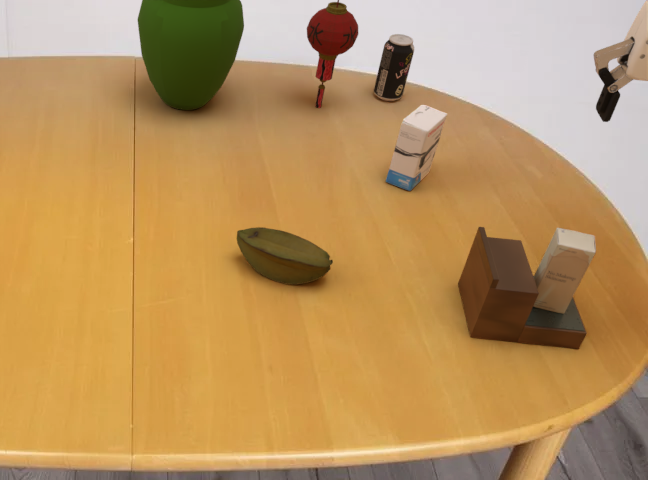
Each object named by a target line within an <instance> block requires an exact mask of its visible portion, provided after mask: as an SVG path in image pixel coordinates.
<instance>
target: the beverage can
mask: <svg viewBox="0 0 648 480" xmlns="http://www.w3.org/2000/svg"><path fill="white" fill-rule="evenodd" d="M414 52H415V46H414V39H413V38H412V37H411V36H409V35H407V34H401V33H395V34H392V35H390V36H389V37H388V40H386V42H385V43H384V45H383V50H382V54H381V58H380V62H379V66H378V71H377V75H376V78H375V84H374V87H373V93H374V95H375V96H376V97H377V98H378V99H380V100H382V101H386V102H394V101H398V100H400V99H401V98H402V97H403V95H404V91H405V88H406V84H407V81H408V76H409V72H410V69H411V64H412V60H413V57H414Z"/></svg>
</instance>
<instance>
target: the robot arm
mask: <svg viewBox="0 0 648 480" xmlns="http://www.w3.org/2000/svg"><path fill="white" fill-rule="evenodd" d="M615 59H616V62H617V63H618V65H617V66H615V68H613V69H611V70H610V69H609V68H610V67H609V63H610V62H611V61H612V60H615ZM593 61H594V66H595V72H596V74H597V75H598V77H599V78H600V80H601V82H602V83H603V87H602V89H601V91H600V94H599V97H598V98H597V99H598V100H597V101H596V104H595V110H596V112H597V114H598V116H599V118H600V119H601V121H602V122H603V123H608V122H610V121H611V120H612V117H613V114H614V112H615V110H616V107H617V105H618V102H619V100H620V97H621V92H619V90H621V89H622V88H623V87H625V86H626V85H628V84H629V83H631V82H632V81H640V82H641V81H642V82H643V81H644V82H648V0H645V1H644V3H643V5H642V6H641V7H640V9H639V11H638V12H637V14H636V16H635V18H634V20H633V22H632V23H631V26H630V28H629V29H628V32H627V33H626V36H625V38H624V40H623V41H620V42H617V43H614V44H612V45H610V46H605V47H604V48H603V47H602V48H601V49H597V50H596V51H595V52H593Z"/></svg>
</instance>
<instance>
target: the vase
mask: <svg viewBox="0 0 648 480" xmlns="http://www.w3.org/2000/svg"><path fill="white" fill-rule="evenodd" d="M244 19H245V18H244V8H243V4H242V1H241V0H141V4H140V7H139V12H138V16H137V27H138V35H139V43H140V45H139V46H140V52H141V57H142V60H143V63H144V66H145V69H146V73H147V76H148V80H149V81H150V83H151V85H152V86H153V88H154V90H155V92H156V93H157V95H158V97H159V98H160V99H161V100H162V101H163V102H164V104H165V105H167V106H169V107H171V108H174V109H176V110H181V111H193V110H197V109H200V108H202V107H204V106H205V105H207V104H208V103H209V102H210V101H211V100H213V98H214V97H215V95H216V94H217V93H218V91H219V90H220V89H221V88H222V86H224V83H225V82H226V79H227V77H228V75H229V73H230V71H231V69H232V67H233V65H234V63H235V61H236V58H237V55H238V52H239V47H240V44H241V40H242V37H243V33H244V30H245V20H244Z"/></svg>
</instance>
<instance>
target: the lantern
mask: <svg viewBox="0 0 648 480" xmlns="http://www.w3.org/2000/svg"><path fill="white" fill-rule="evenodd" d="M358 36H359V24H358V22H357V20H356V18H355V15H354V14H353V13H351V12H350V11H348V8H347V5H346V4H345V3H343V2H341V1H340V0H337V1H332V2H328V4H327V6H326V7H324V8H321V9H318V11H316V13H315V14H313V15H312V16H311V18H310V19H309V22H308V23H307V26H306V37H307V42H308V43H309V44H310V46H311V48H312V50H314V51H316V52H317V54H318V61H317V66H316V71H315V78H316V79H317V80H319V81H320V82H321V83H320V84H319V85H318V89H317V95H316V98H315V99H316V100H315V104H314V107H315V108H317V109H320V108H322V106H323V100H324V96H325V95H324V94H325V89H326V86H325V84H324V83H326V82H328V81H330V80H332V79H333V74H334V69H335V65H336V61H337V58H338V56H339V55H343V54H344V53H345V54H346V53H347V52H348V51H349V50H350V49H351V48H353V47H354V44H355V43H356V41H357V39H358Z"/></svg>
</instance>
